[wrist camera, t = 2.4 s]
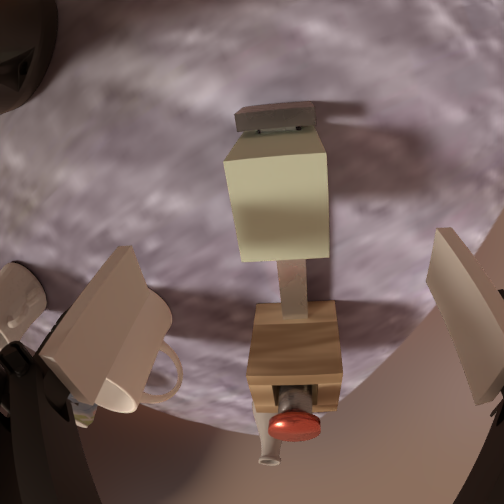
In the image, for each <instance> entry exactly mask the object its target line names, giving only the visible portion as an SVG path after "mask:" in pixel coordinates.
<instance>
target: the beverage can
mask: <svg viewBox="0 0 504 504" xmlns="http://www.w3.org/2000/svg"><path fill="white" fill-rule="evenodd" d="M68 399H69V400H70V402H71V404H72V409H73V413H74V417H75V421H76V425H77V426H80V427H84V428H87V427H88V425H89V424H91V423H92V422H93V419H94V415H95V412H96V409H97V404H95V403H94V405H93V406H92V405H89V404H85V403H82V402H78V401H77V400H76V398H75V397H74V396H73V395H72V394H71V393H70V394H69V396H68Z"/></svg>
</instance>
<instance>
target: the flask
mask: <svg viewBox="0 0 504 504" xmlns="http://www.w3.org/2000/svg"><path fill="white" fill-rule="evenodd" d="M252 411H253V414H254V418H255V421H256V424H257V428H258V431H259V435H260V439H261V447H262V454H261V457H260V458H259V463H260V464H264V465H278V464H280V463H281V458H279V454H280V447H281V444H282V440H278V439H275V438H273V437H271V436H270V435H269V434H268V426H269V420H270V418H271V417H273V416H275V415H277V414H278V413H257V412H256V409H255V405H254V402H253V401H252Z"/></svg>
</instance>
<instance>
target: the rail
mask: <svg viewBox="0 0 504 504" xmlns="http://www.w3.org/2000/svg"><path fill="white" fill-rule="evenodd" d="M234 115H235V122H236V128H237V132H242V131H251V130H260V132H261V133H271V132H283V131H296V126H309V125H316V115H315V106H314V105H313V104H312V103H311V101H301V102H288V103H276V104H266V105H257V106H248V107H243V108H241V109H240V110H239V111H238V112H236V113H235V114H234ZM277 269H278V278H279V287H280V296H281V306H282V315H283V319H307V318H308V307H307V278H306V259H293V260H277Z"/></svg>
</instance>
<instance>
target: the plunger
mask: <svg viewBox="0 0 504 504" xmlns="http://www.w3.org/2000/svg"><path fill="white" fill-rule="evenodd" d="M320 432H321V431H320V419H319V418H318V417H317V416H315V415H313V414H312V384H308V385H280V389H279V403H278V414H277V415H275V416H273V417H271V418H270V420H269V426H268V434H269V435H270V436H271V437H273V438H275V439H278V440H282V441H292V442H295V441H305V440H310V439H313V438H315V437H317V436H318V435H319V434H320Z"/></svg>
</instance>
